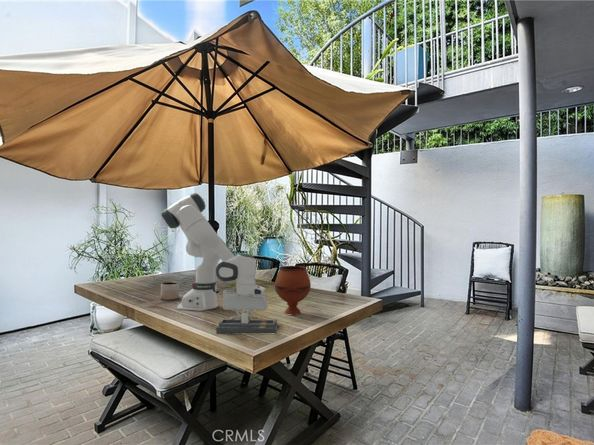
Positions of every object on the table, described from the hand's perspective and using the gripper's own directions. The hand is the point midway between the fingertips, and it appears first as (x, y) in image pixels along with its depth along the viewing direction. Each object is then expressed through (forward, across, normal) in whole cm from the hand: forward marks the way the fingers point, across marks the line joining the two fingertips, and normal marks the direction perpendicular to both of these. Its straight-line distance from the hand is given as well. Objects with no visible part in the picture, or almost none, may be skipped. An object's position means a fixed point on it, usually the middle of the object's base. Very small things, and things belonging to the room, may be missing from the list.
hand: (245, 319), depth 154 cm
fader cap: (+2, 0, 0) cm, 2 cm away
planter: (+5, -57, +59) cm, 82 cm away
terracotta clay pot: (+4, +21, +27) cm, 35 cm away
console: (+4, +1, 0) cm, 5 cm away
